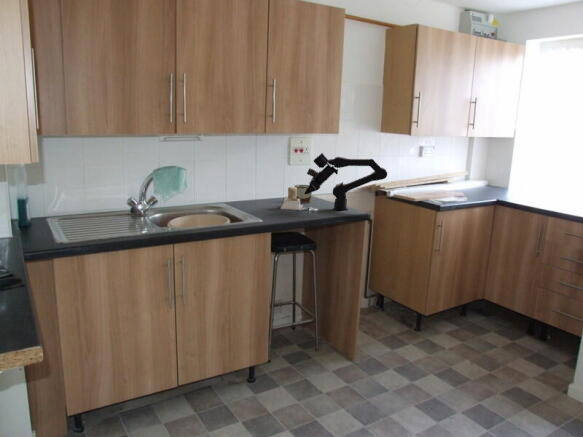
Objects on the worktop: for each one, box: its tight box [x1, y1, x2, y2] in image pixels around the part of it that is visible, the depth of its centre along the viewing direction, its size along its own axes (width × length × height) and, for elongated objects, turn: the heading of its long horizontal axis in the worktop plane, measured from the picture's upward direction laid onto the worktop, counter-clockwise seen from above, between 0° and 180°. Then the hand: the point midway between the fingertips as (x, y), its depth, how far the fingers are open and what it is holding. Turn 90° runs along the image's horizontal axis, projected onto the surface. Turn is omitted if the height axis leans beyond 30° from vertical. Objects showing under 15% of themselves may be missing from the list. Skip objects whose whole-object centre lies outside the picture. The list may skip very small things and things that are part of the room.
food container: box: [293, 184, 313, 204], centre depth 298 cm, size 12×6×10 cm, turn 66°
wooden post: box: [287, 186, 297, 201], centre depth 278 cm, size 5×5×11 cm
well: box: [280, 197, 304, 211], centre depth 279 cm, size 12×12×4 cm
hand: (305, 192), depth 277 cm, fingers open, 9 cm apart
